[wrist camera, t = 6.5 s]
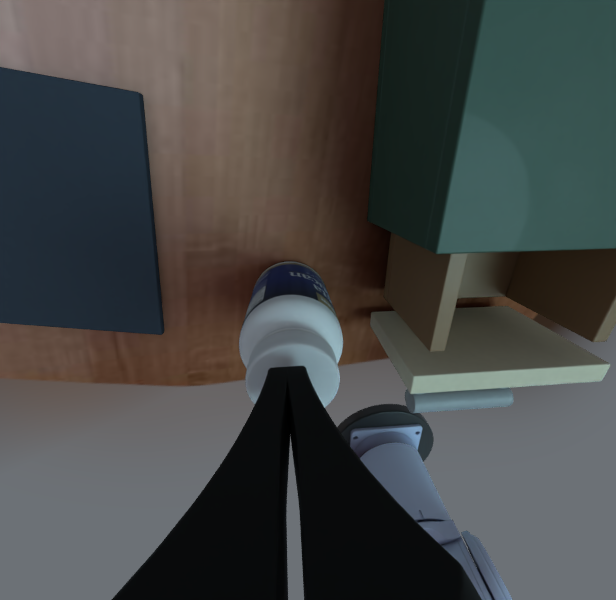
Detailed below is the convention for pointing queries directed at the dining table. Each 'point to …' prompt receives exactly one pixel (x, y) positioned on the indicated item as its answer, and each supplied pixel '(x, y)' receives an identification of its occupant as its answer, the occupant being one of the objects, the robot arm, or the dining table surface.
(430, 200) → the cabinet
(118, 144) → the mat
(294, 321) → the pill bottle
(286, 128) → the dining table surface
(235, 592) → the robot arm
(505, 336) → the drawer
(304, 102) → the dining table surface
